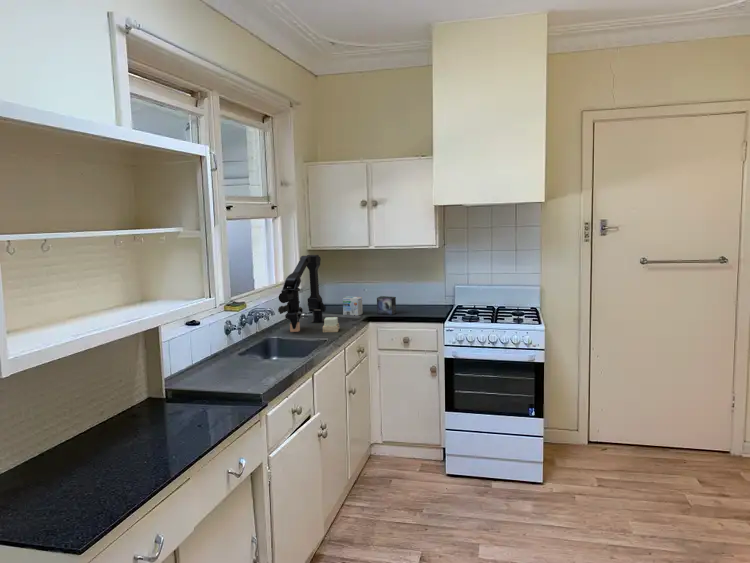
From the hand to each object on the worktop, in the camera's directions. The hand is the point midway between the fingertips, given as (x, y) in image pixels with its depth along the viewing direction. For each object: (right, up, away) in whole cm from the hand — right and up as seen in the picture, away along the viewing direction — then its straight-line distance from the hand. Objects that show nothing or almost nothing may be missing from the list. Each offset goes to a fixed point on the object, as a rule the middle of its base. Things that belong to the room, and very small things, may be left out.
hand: (294, 328), depth 308 cm
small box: (+51, +5, +41) cm, 66 cm away
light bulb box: (+30, +5, +42) cm, 52 cm away
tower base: (+20, -2, -2) cm, 20 cm away
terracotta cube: (0, -2, 0) cm, 2 cm away
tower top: (+20, +2, -2) cm, 20 cm away
